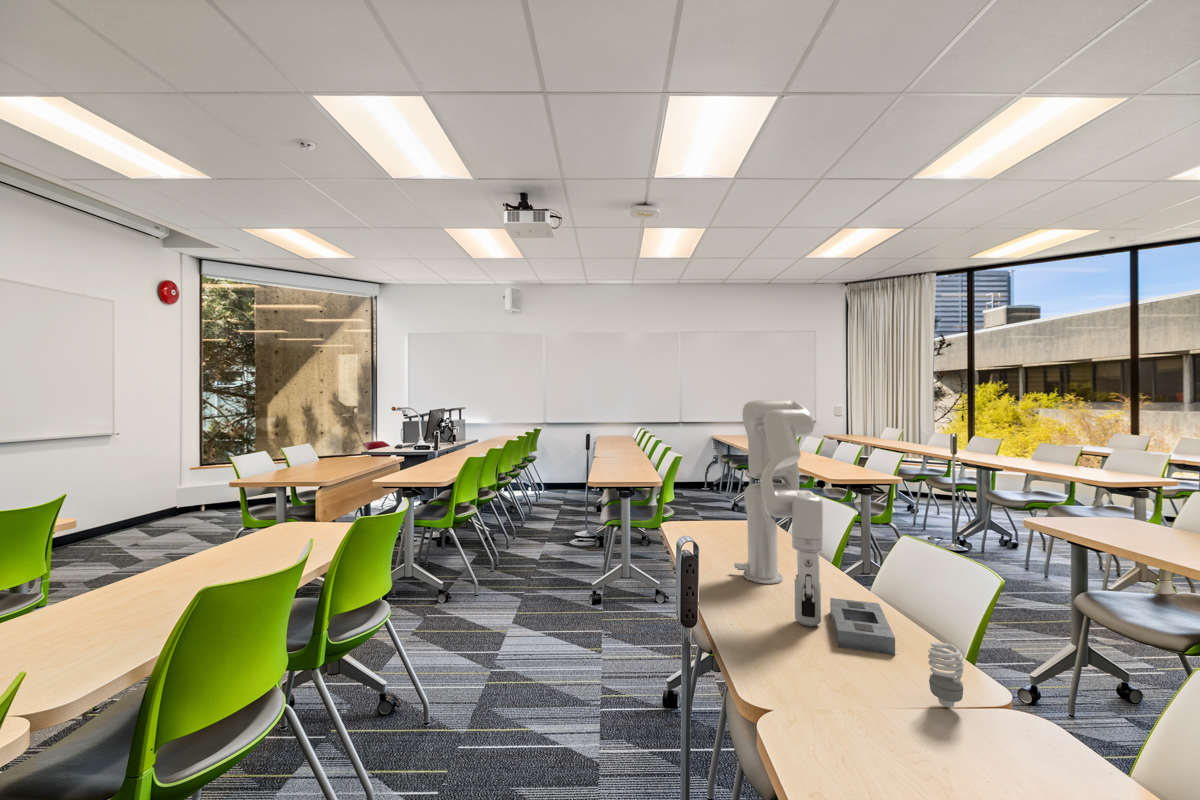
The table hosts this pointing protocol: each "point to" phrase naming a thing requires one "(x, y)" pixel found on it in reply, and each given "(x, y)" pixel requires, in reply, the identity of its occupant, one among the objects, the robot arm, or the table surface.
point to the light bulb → (946, 674)
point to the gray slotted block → (861, 626)
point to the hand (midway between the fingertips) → (807, 610)
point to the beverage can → (798, 605)
